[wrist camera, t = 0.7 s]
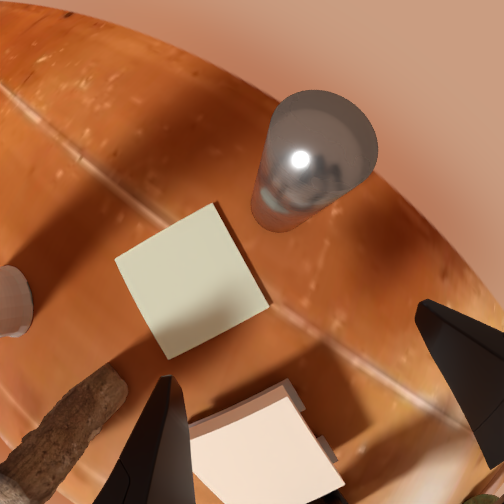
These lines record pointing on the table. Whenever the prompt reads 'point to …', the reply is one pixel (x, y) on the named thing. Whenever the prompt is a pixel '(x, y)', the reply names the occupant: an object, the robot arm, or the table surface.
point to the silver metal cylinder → (311, 158)
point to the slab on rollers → (263, 451)
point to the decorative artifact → (482, 499)
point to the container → (14, 302)
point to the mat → (190, 282)
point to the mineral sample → (60, 439)
